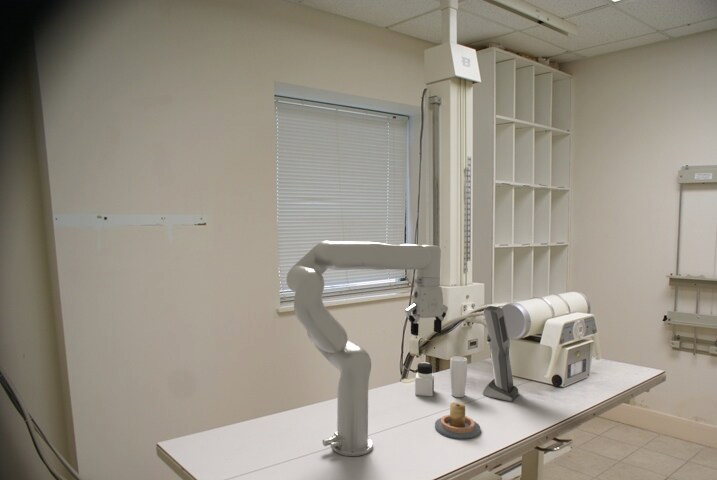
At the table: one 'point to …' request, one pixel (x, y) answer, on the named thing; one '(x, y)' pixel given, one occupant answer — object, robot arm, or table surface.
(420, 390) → the medicine bottle
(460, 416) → the wooden bead
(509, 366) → the thermal camera
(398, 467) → the table surface
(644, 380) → the table surface
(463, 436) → the ring tray
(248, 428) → the table surface
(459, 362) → the drinking glass
